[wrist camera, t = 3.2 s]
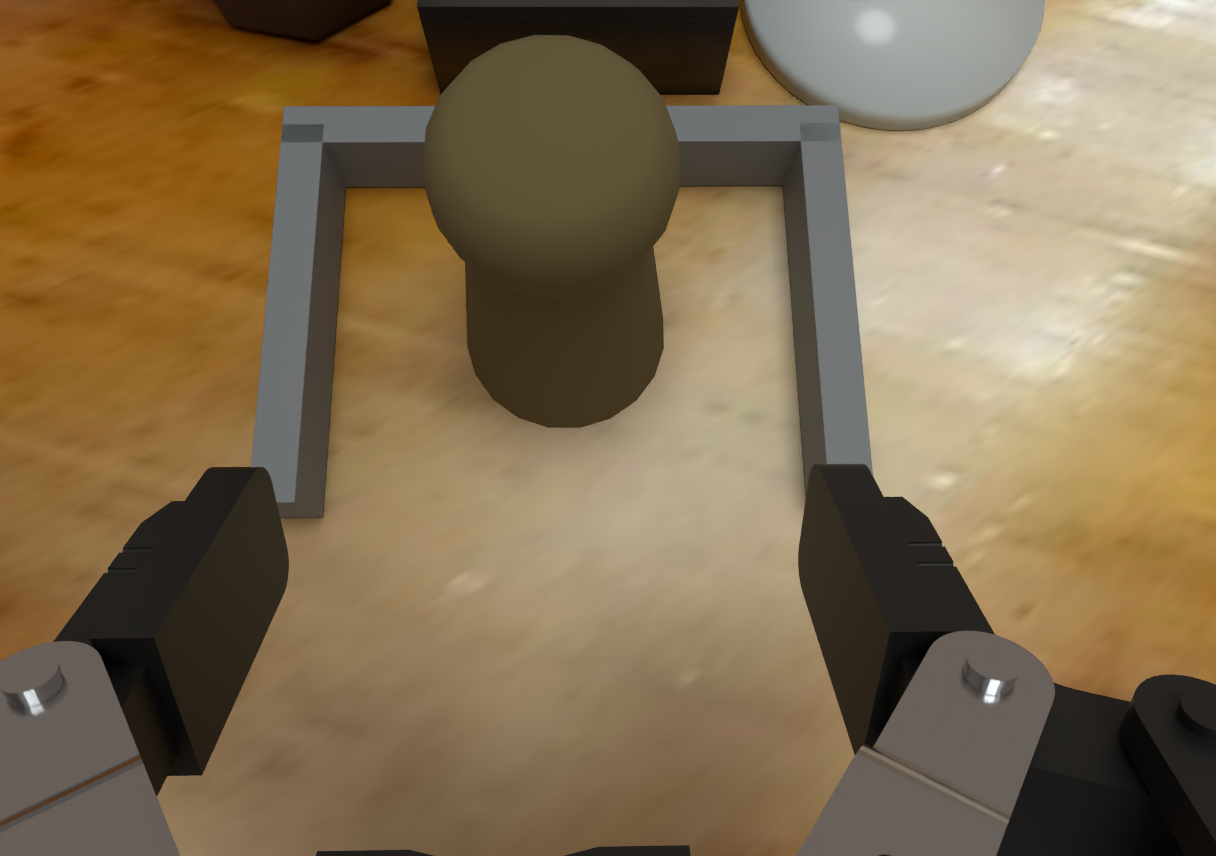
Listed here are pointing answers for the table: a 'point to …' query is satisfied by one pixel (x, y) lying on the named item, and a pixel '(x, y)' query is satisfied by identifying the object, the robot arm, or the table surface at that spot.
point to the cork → (556, 222)
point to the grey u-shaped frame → (393, 157)
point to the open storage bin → (592, 34)
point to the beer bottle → (296, 15)
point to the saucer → (894, 54)
